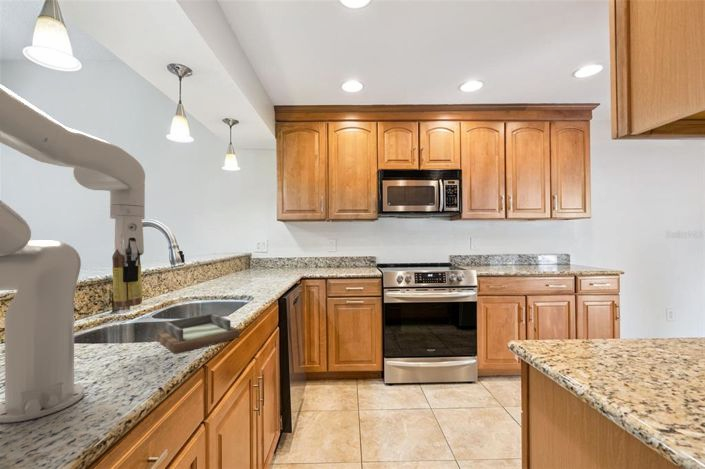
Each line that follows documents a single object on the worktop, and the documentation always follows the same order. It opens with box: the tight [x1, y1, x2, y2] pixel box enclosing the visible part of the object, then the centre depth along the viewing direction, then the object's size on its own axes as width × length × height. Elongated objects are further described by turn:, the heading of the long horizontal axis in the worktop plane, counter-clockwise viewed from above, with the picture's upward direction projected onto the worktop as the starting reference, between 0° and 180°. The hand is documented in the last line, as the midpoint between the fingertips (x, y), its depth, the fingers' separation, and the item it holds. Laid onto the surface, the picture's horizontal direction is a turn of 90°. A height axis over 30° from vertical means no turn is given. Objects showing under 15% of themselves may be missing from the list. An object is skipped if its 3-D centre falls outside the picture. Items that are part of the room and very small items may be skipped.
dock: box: [156, 313, 240, 355], centre depth 100 cm, size 16×19×6 cm
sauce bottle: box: [111, 245, 143, 308], centre depth 84 cm, size 6×6×20 cm
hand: (127, 280), depth 84 cm, fingers closed on sauce bottle, 6 cm apart
